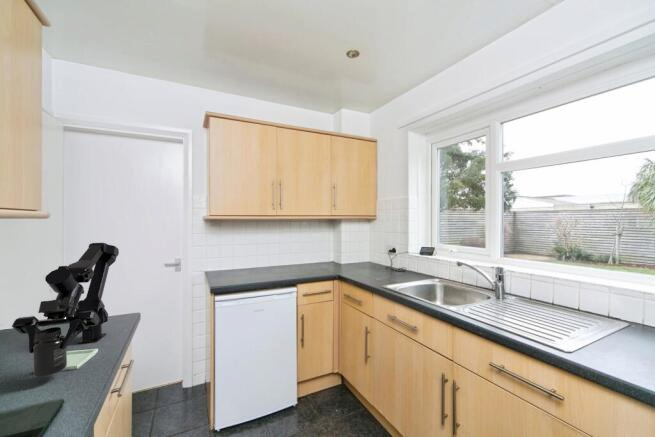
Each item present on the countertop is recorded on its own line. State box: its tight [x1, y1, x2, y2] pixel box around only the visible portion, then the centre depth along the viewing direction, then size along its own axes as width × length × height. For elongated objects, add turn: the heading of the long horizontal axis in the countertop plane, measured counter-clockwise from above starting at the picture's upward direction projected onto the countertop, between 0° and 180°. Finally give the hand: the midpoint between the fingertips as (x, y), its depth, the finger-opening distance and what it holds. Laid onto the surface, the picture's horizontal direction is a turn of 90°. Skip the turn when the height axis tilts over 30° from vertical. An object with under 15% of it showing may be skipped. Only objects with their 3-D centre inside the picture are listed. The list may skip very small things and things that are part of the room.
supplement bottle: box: [32, 326, 68, 378], centre depth 79 cm, size 7×7×12 cm
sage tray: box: [60, 348, 99, 372], centre depth 88 cm, size 11×11×1 cm
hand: (47, 350), depth 78 cm, fingers closed on supplement bottle, 7 cm apart
